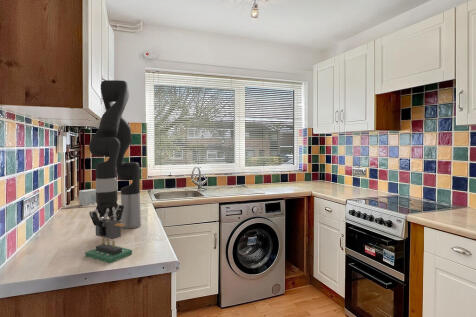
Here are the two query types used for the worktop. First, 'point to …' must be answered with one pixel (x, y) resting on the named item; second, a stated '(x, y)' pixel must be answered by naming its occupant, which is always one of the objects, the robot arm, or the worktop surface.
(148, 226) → the worktop surface
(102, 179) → the robot arm
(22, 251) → the worktop surface
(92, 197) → the skincare box
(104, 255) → the header board
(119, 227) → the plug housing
